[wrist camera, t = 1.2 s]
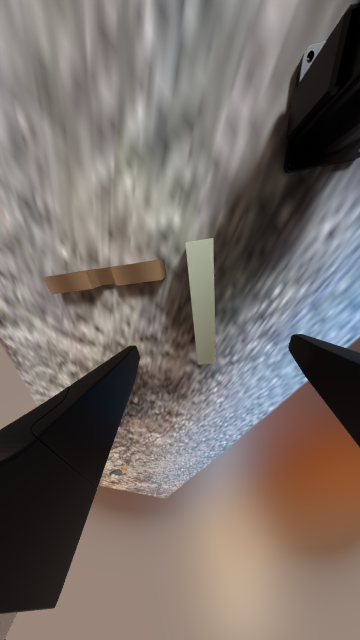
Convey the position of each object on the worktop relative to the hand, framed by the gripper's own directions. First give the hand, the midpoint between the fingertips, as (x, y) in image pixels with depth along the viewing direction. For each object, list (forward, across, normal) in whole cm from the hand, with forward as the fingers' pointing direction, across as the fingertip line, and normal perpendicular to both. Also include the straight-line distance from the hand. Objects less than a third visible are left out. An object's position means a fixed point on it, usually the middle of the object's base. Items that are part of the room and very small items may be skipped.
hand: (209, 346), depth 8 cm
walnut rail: (+12, +11, -4) cm, 16 cm away
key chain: (+12, +32, +64) cm, 72 cm away
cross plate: (+12, 0, 0) cm, 12 cm away
